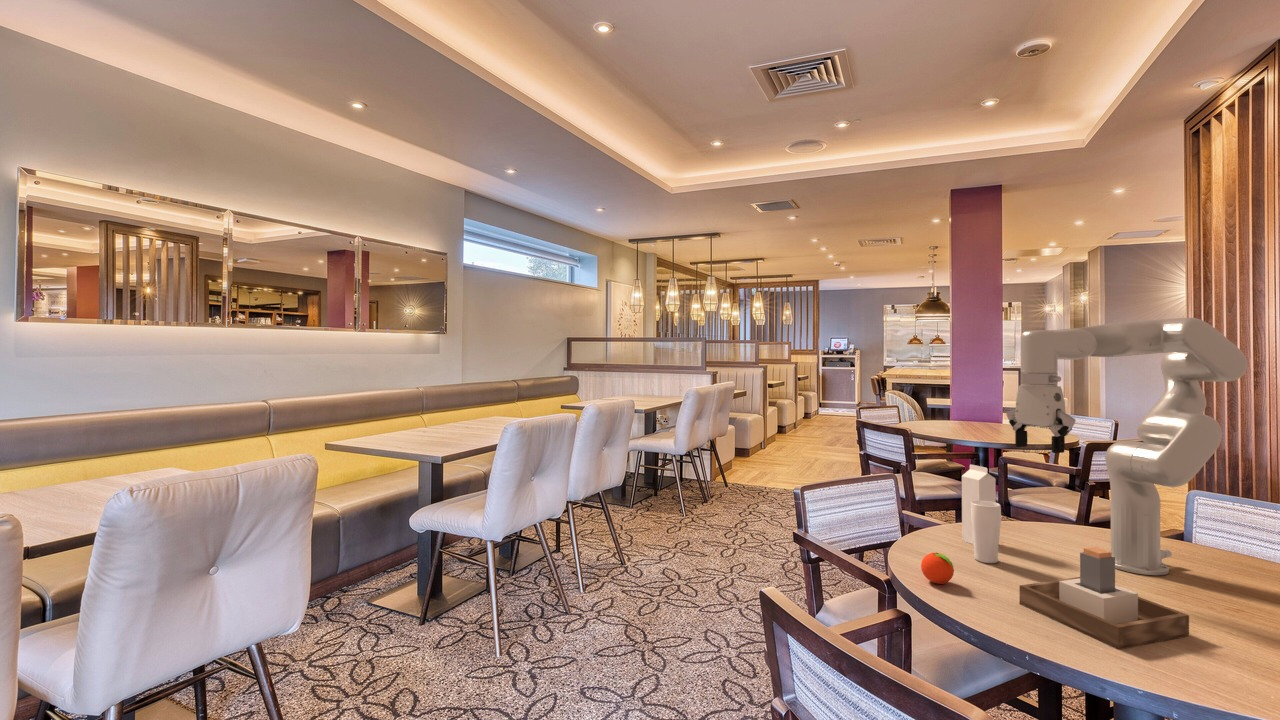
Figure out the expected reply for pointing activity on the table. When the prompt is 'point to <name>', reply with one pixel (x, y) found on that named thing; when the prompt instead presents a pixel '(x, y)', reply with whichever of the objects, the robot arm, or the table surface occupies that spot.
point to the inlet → (1101, 601)
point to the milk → (975, 495)
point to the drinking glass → (985, 530)
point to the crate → (1147, 629)
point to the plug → (1097, 570)
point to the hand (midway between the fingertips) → (1039, 449)
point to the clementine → (937, 568)
